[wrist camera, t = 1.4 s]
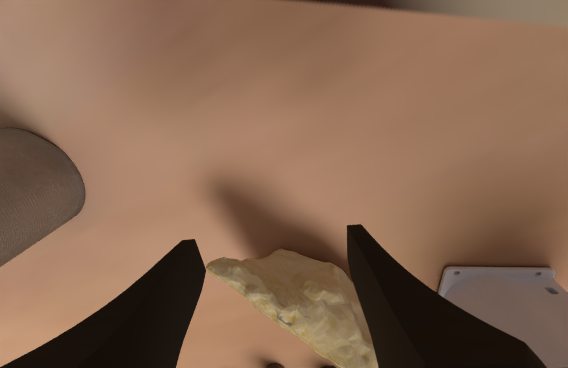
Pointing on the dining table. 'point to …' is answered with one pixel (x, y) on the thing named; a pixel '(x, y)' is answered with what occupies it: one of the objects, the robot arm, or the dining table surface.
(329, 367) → the brown piece
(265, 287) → the cheese
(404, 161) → the dining table surface
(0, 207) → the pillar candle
